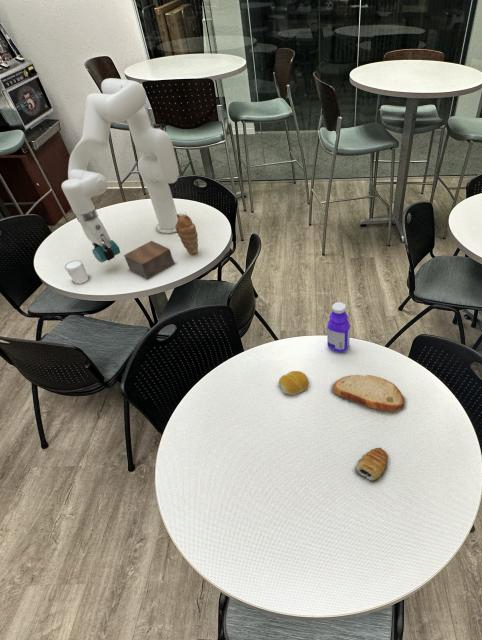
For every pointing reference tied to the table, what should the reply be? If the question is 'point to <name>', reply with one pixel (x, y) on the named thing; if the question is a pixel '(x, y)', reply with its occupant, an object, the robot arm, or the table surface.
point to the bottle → (338, 329)
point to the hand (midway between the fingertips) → (106, 256)
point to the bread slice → (370, 392)
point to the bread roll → (293, 382)
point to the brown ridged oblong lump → (187, 233)
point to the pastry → (372, 464)
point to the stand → (149, 259)
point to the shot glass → (77, 271)
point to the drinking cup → (99, 251)
